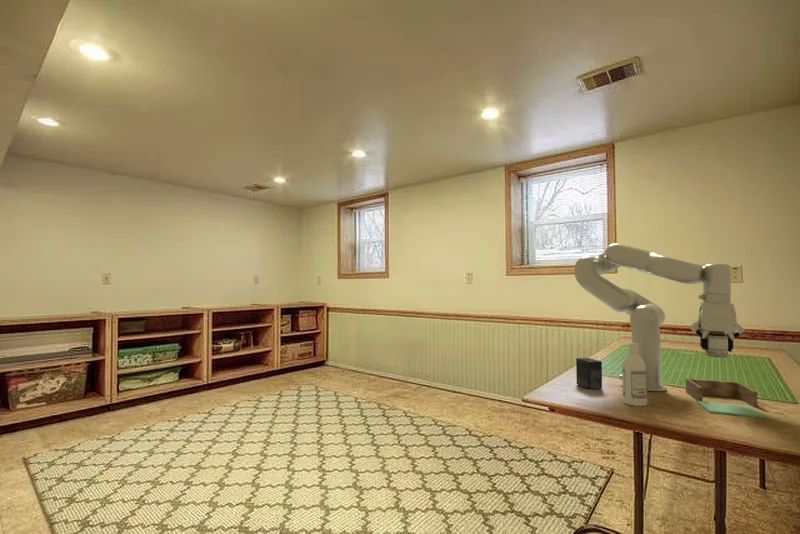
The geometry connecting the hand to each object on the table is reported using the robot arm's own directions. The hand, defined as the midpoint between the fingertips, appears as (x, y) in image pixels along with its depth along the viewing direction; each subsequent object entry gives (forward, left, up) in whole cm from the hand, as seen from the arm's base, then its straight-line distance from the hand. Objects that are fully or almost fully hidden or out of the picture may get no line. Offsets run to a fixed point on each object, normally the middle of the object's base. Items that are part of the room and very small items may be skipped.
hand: (716, 349), depth 140 cm
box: (-41, +2, -17) cm, 44 cm away
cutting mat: (-2, -13, -17) cm, 22 cm away
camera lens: (0, 0, -2) cm, 2 cm away
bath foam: (-29, -16, -17) cm, 37 cm away
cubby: (0, 0, -17) cm, 17 cm away
